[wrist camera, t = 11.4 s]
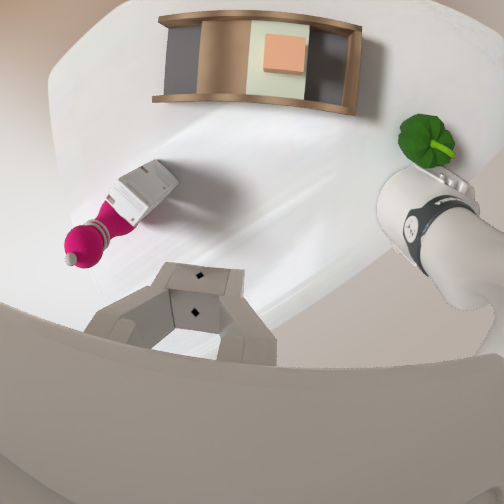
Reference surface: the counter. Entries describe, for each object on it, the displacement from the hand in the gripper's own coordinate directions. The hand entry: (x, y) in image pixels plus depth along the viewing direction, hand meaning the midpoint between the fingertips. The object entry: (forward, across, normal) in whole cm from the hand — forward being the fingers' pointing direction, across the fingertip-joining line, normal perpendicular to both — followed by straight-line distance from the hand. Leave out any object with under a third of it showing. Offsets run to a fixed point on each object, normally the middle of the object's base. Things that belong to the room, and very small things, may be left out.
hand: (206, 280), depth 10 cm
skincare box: (+34, +16, +6) cm, 38 cm away
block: (+31, -3, -14) cm, 34 cm away
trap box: (+34, +1, -14) cm, 37 cm away
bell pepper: (+34, -25, -6) cm, 43 cm away
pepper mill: (+34, +22, +11) cm, 42 cm away
